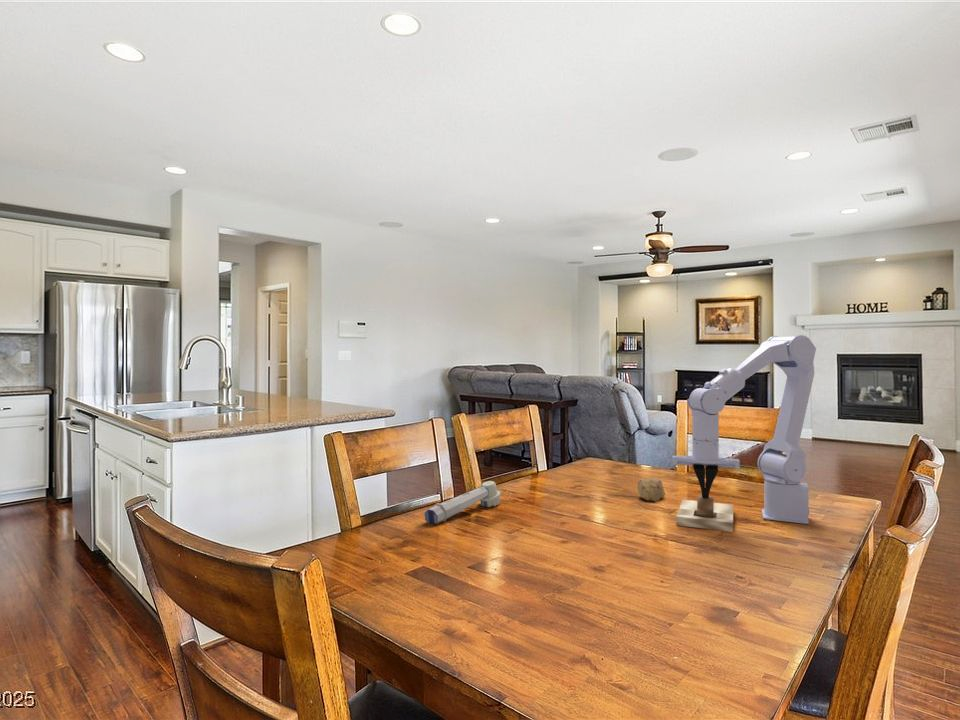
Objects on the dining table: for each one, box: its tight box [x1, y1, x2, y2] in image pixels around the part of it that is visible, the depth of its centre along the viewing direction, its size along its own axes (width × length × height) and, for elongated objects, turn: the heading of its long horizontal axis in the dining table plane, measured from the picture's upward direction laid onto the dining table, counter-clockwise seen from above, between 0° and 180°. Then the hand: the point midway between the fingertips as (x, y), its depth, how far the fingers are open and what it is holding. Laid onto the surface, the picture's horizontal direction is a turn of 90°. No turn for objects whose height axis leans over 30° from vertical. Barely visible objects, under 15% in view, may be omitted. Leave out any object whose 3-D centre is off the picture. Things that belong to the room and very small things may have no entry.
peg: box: [696, 494, 715, 518], centre depth 131 cm, size 4×4×6 cm
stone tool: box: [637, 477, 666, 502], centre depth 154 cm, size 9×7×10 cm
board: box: [675, 499, 734, 533], centre depth 134 cm, size 12×16×2 cm
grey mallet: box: [423, 480, 502, 526], centre depth 140 cm, size 5×7×25 cm
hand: (705, 496), depth 131 cm, fingers closed
